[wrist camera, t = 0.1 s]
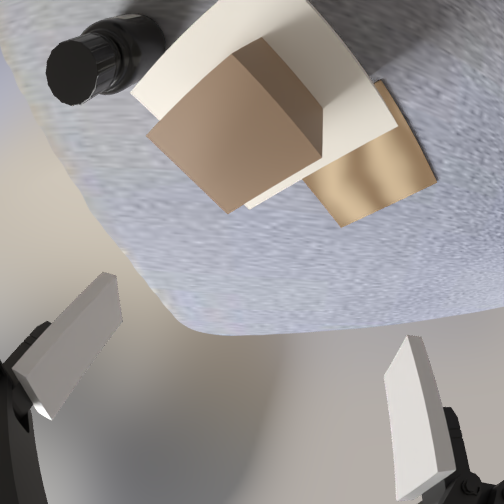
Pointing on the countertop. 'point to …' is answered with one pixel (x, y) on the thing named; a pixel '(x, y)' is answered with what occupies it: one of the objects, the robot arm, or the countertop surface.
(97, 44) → the ink bottle
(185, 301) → the countertop surface
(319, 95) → the cover
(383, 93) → the plate
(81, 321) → the robot arm
